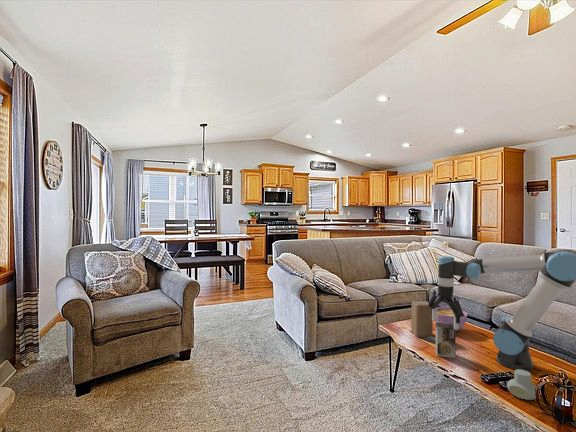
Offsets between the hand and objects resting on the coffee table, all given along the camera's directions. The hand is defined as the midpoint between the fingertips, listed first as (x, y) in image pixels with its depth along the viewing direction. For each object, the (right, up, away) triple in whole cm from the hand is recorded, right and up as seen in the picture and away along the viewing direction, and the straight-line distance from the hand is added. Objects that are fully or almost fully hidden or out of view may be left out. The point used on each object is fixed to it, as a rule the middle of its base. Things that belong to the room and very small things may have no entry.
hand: (444, 324), depth 175 cm
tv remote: (+4, -16, +15) cm, 23 cm away
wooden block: (-1, -16, +28) cm, 32 cm away
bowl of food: (+21, -16, +38) cm, 46 cm away
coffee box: (0, -16, 0) cm, 16 cm away
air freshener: (+14, -17, -39) cm, 45 cm away
